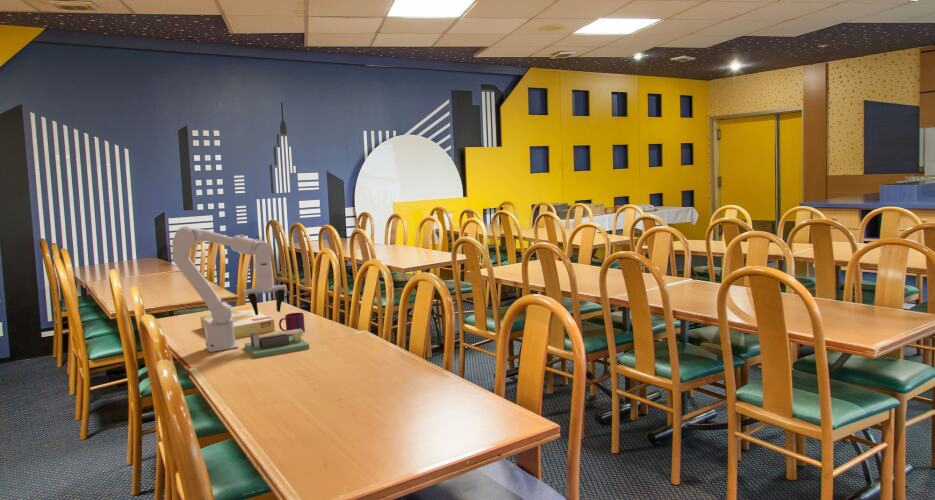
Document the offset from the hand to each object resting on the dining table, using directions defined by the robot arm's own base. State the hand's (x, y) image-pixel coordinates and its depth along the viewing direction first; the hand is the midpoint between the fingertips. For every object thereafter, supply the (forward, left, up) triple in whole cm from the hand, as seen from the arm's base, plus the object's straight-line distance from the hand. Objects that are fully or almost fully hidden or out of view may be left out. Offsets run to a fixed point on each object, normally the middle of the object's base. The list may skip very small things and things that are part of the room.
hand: (267, 313), depth 231 cm
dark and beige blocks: (0, -11, -9) cm, 14 cm away
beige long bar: (+1, -11, -7) cm, 13 cm away
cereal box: (-6, +28, -11) cm, 31 cm away
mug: (+10, +8, -11) cm, 17 cm away
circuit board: (0, -11, -10) cm, 15 cm away
